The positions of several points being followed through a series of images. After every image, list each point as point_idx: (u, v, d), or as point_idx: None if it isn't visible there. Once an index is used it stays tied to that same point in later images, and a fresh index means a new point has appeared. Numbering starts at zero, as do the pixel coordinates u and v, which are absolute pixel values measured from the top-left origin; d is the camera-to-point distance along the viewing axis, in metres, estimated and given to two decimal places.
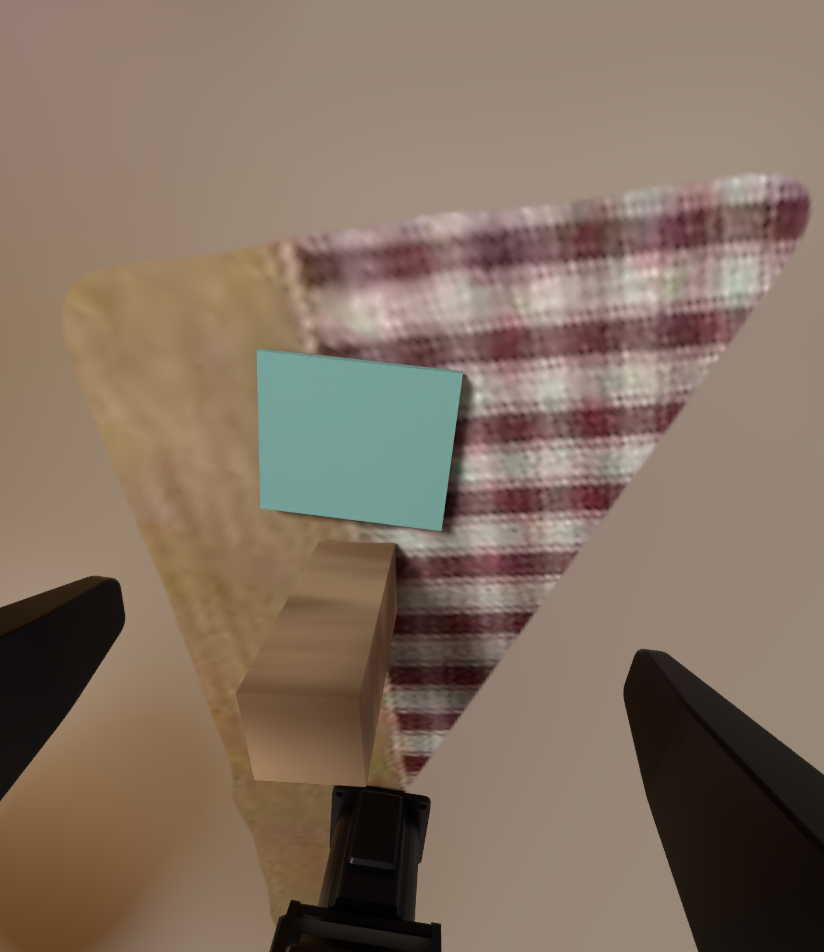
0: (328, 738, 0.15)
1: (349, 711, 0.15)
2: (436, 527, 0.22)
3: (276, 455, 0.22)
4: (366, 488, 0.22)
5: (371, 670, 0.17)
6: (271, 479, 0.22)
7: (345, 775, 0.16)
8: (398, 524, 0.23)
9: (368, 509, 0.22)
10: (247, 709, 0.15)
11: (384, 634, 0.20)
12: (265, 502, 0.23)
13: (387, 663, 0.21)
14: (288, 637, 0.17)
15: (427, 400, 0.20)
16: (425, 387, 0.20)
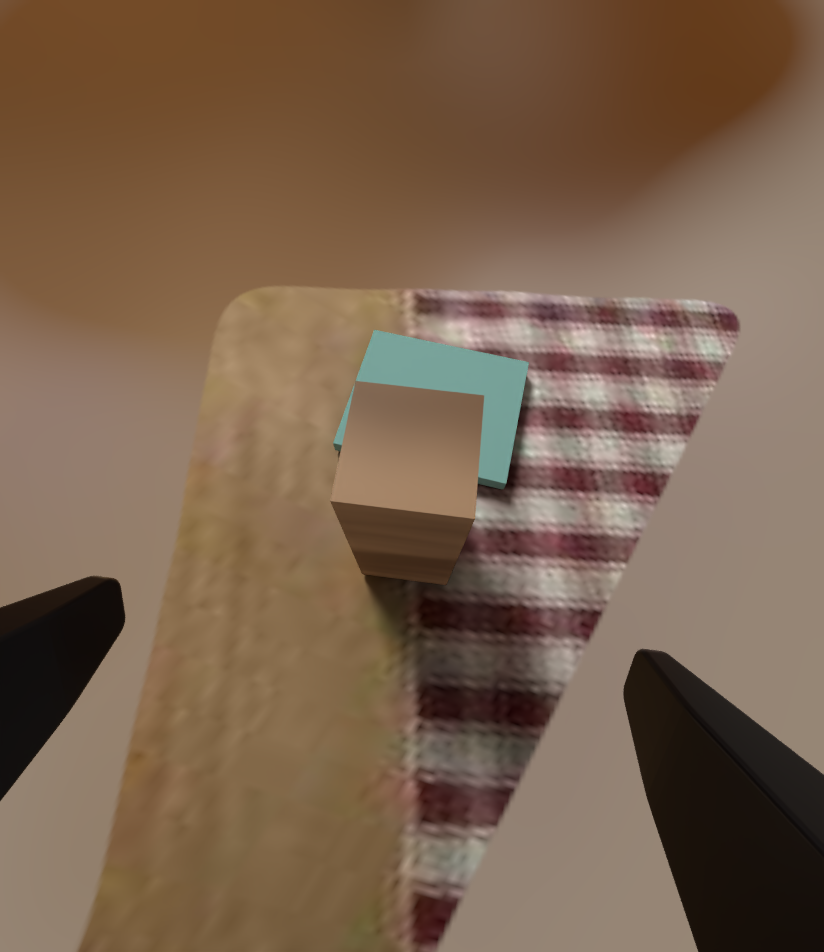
0: (441, 442, 0.14)
1: (472, 409, 0.14)
2: (501, 479, 0.23)
3: None
4: None
5: None
6: None
7: (452, 498, 0.13)
8: None
9: None
10: (360, 400, 0.14)
11: None
12: (340, 438, 0.24)
13: (454, 564, 0.18)
14: None
15: (500, 376, 0.26)
16: (499, 367, 0.26)
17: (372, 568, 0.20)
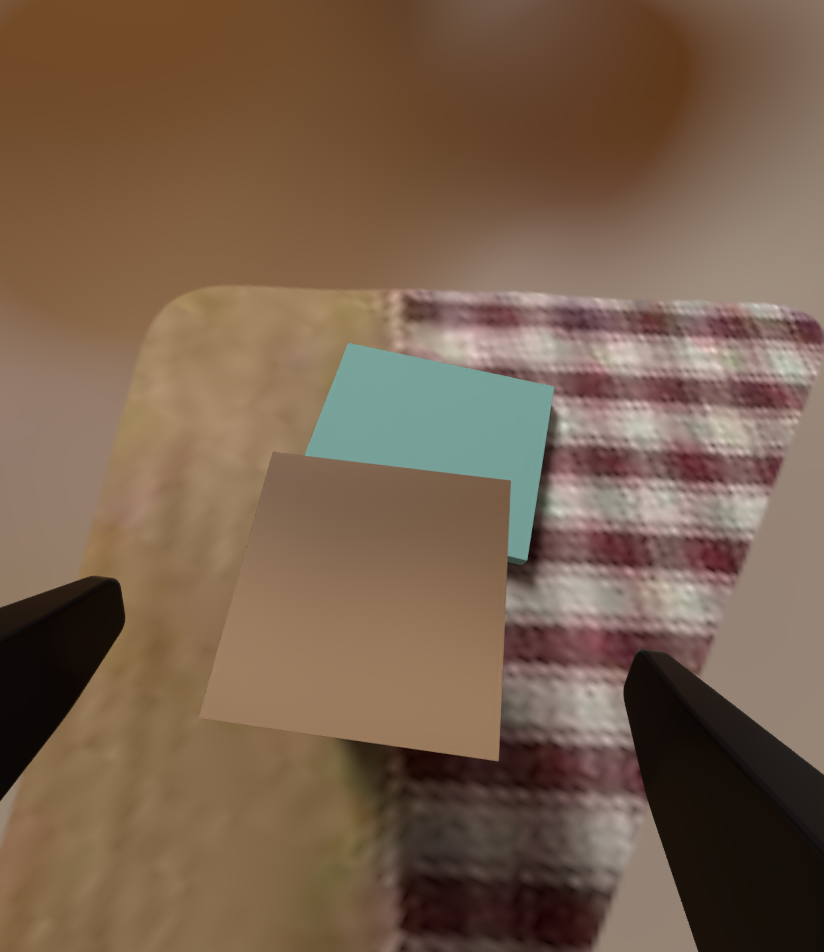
0: (430, 581, 0.07)
1: (488, 509, 0.07)
2: (520, 554, 0.16)
3: (332, 439, 0.18)
4: None
5: None
6: None
7: (451, 710, 0.06)
8: None
9: None
10: (279, 490, 0.07)
11: None
12: None
13: None
14: None
15: (517, 405, 0.19)
16: (514, 393, 0.19)
17: None
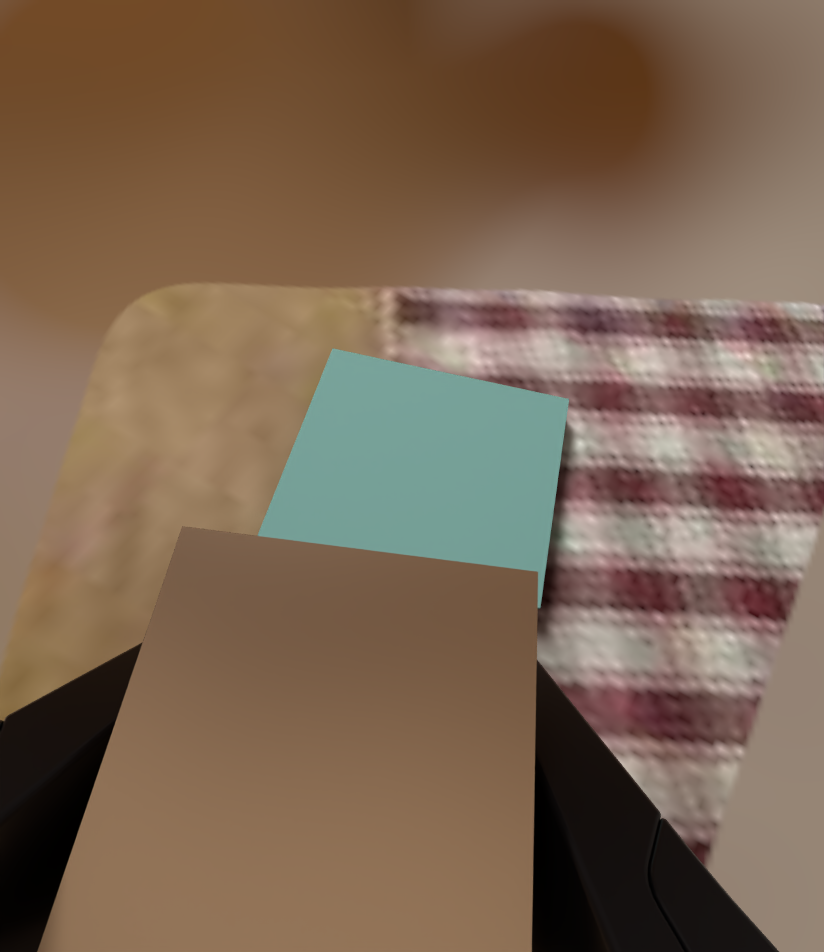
0: (414, 745, 0.04)
1: (505, 621, 0.05)
2: None
3: (312, 462, 0.16)
4: (430, 523, 0.15)
5: None
6: (293, 493, 0.15)
7: None
8: None
9: (427, 557, 0.14)
10: (187, 589, 0.05)
11: None
12: (269, 527, 0.15)
13: None
14: None
15: (526, 421, 0.16)
16: (523, 407, 0.17)
17: None
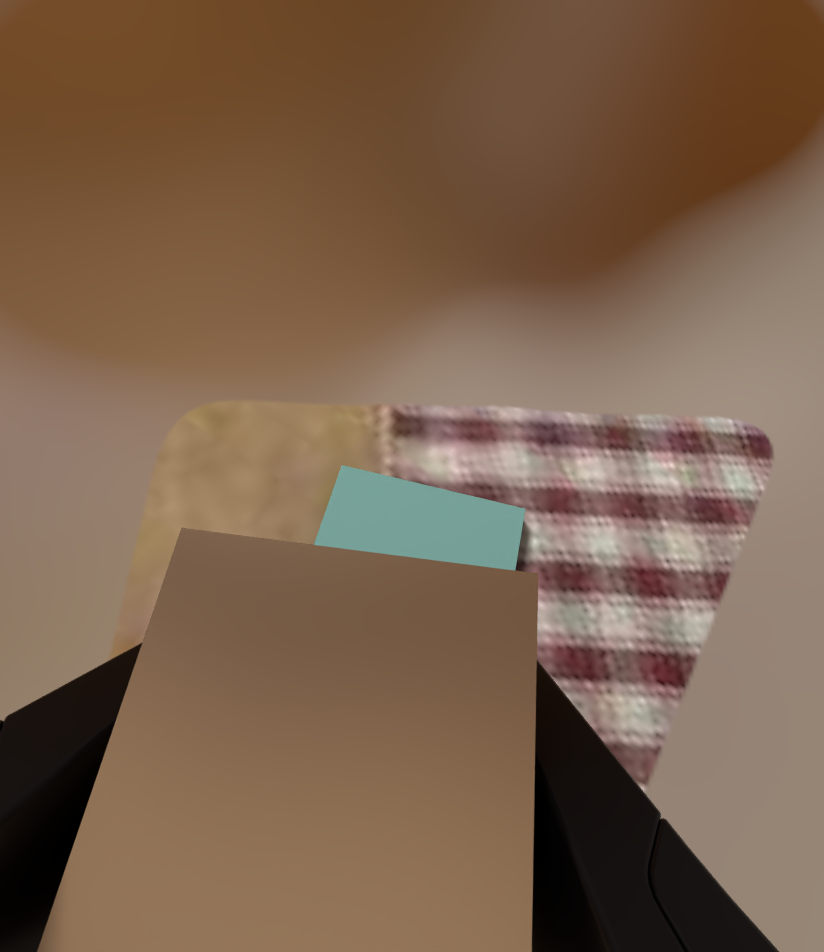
0: (414, 746, 0.04)
1: (505, 622, 0.05)
2: None
3: None
4: None
5: None
6: None
7: None
8: None
9: None
10: (185, 591, 0.05)
11: None
12: None
13: None
14: None
15: (492, 527, 0.21)
16: (490, 516, 0.21)
17: None
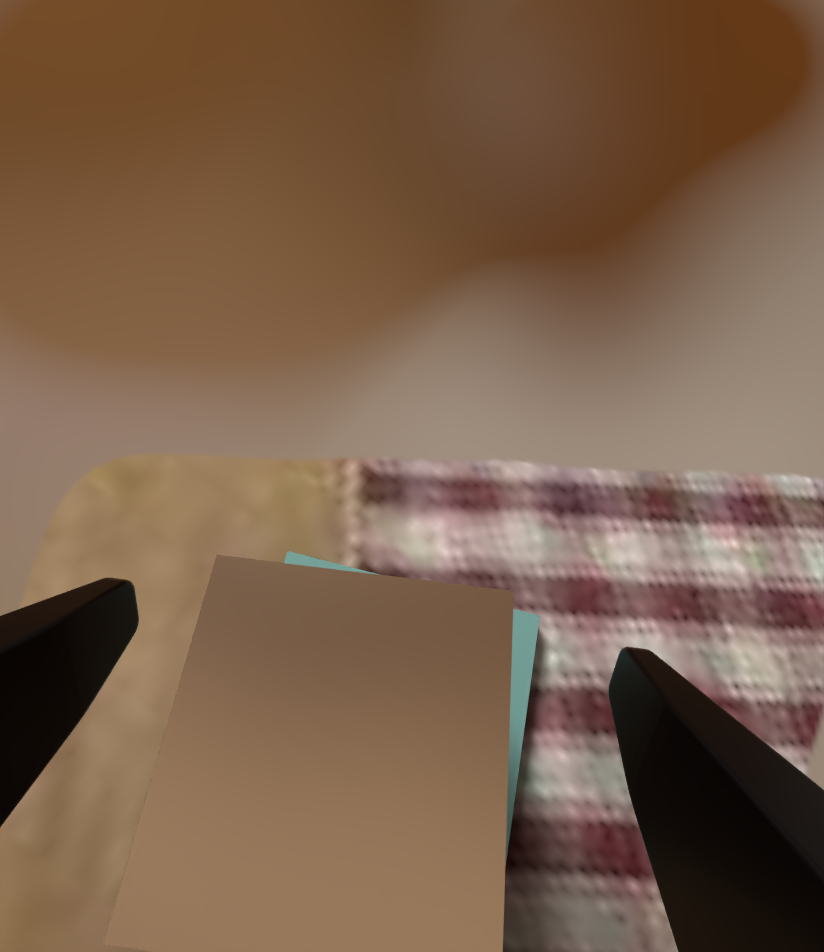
0: (412, 735, 0.05)
1: (486, 632, 0.06)
2: None
3: None
4: None
5: None
6: None
7: (438, 925, 0.05)
8: None
9: None
10: (223, 608, 0.06)
11: None
12: None
13: None
14: None
15: None
16: None
17: None
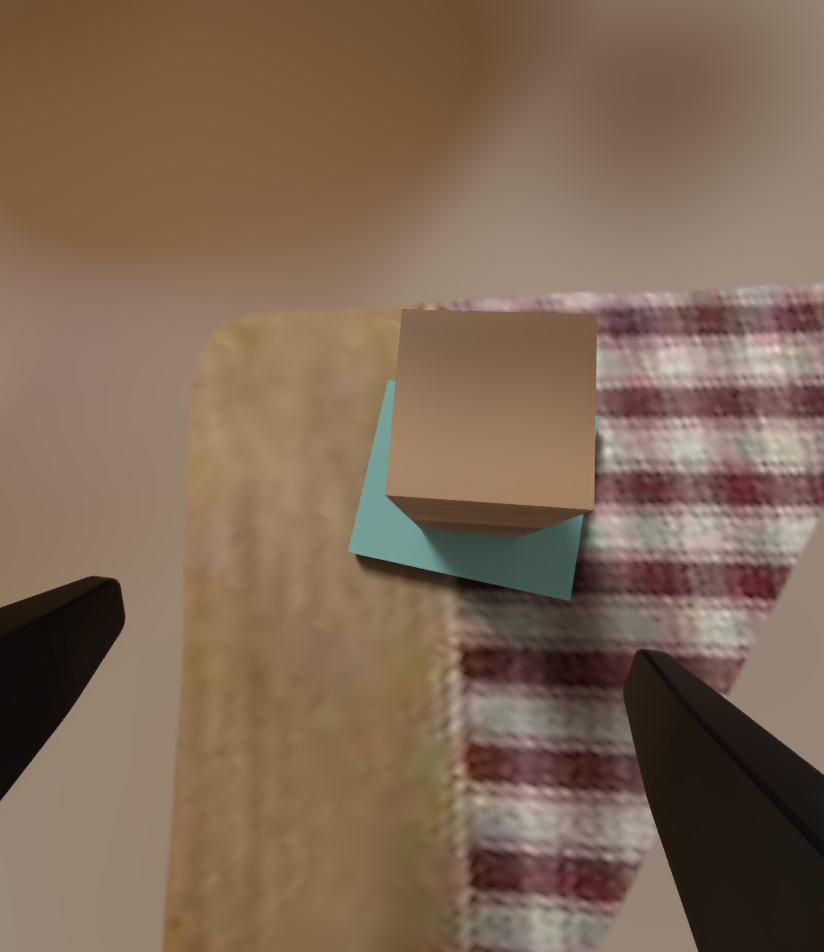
0: (536, 396, 0.09)
1: (579, 339, 0.09)
2: (563, 595, 0.18)
3: (382, 488, 0.19)
4: (481, 536, 0.19)
5: None
6: (370, 516, 0.19)
7: (558, 480, 0.09)
8: (515, 587, 0.18)
9: (480, 563, 0.18)
10: (412, 338, 0.10)
11: None
12: (355, 544, 0.19)
13: (539, 529, 0.14)
14: None
15: None
16: None
17: (434, 527, 0.17)
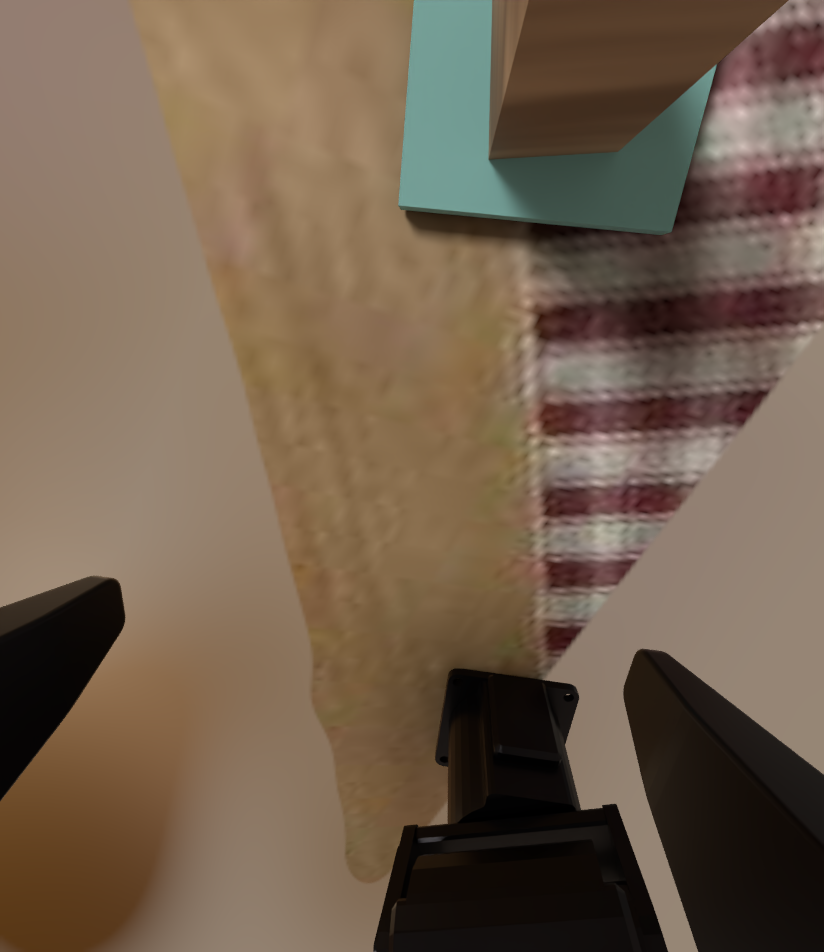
0: None
1: None
2: (664, 225, 0.15)
3: (433, 103, 0.14)
4: (566, 157, 0.15)
5: None
6: (421, 149, 0.15)
7: None
8: (606, 223, 0.15)
9: (563, 197, 0.15)
10: None
11: None
12: (407, 194, 0.15)
13: (678, 95, 0.11)
14: None
15: None
16: None
17: (513, 142, 0.13)
